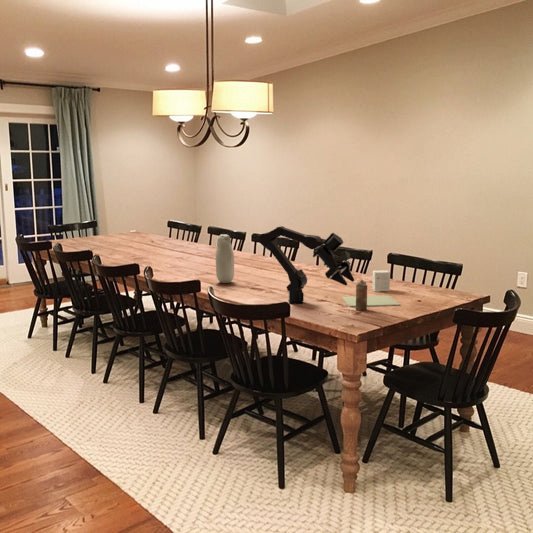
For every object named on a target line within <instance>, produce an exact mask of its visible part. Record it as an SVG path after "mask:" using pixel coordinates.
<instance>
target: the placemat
mask: <svg viewBox="0 0 533 533" xmlns="http://www.w3.org/2000/svg"><path fill="white" fill-rule="evenodd" d="M341 299H342V300H343V301H344V302H345V303H346V305H347V306H348V307H349V308H354V307H355V308H356V296H341ZM393 305H398V306H400V303H399V302H397V301H396V300H395V299H394V298H393V297H391V296H390V295H367V307H389V306H390V307H393Z"/></svg>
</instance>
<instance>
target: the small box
mask: <svg viewBox="0 0 533 533" xmlns="http://www.w3.org/2000/svg"><path fill="white" fill-rule="evenodd" d="M390 278H391V272H390V270H387V269H385V270H372V291H373V290H374V291H375V292H374V291H373V292H374V293H381V292H380V291H389V292H390V290H391V288H390V287H391V286H390V285H391V283H390V282H391V279H390Z"/></svg>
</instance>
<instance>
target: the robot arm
mask: <svg viewBox="0 0 533 533" xmlns="http://www.w3.org/2000/svg"><path fill="white" fill-rule="evenodd" d="M280 237H284V238H287V239H290V240H293V241H295V242H298V243H300V244H302V245H303V246H305V247H307V248H308V249H310V250H314V251H313V252H312V253H313V255H312V257H313V258H317V256H318V258H320V259H321V261H322V262H323V265H324V266H326V267H327V268H328V270H327V271H326V272H325V273H324V274H325V277H326V278H327V279H329V280H332V281H334V282H337V283H339V284H342V285H343V286H347V285H348V283H347V281H346V279H347V280H349V281H351V282H352V283H353V282H355V277H354V276H353V273H352V272H351V265H352V263H351V262H350V261H349V260H350V259H351V253H349V252H348V251H346V250H345V251H343V252H341V255H337V254H334V253H333V252H336V251H337V250H338V249H339V248H340V246H342V245H343V244H344V240H343V239H342V237H340V236H339V235H338V234H336V233H335V232H331V233H330V235H329V236H328V237H327V238H326V239H324V238H321V236H319V235H315V234H306V233H305V234H304V233H301V232H299V231H296V230H293V229H290V228H287V227H285V226H282V225H281V226H276V227H275V228H274V229H272V230H270V231H269V232H264V233H261V234H260V235H259V237H258V242H259V243H260V245H261V246H262V247H263V248H265V249H266V250H268V251H269V252H271V254H272V255H273V256H274V258H275V259H276V260H277V262H278V264H279V265H280V266H281V267H282V269H283V270H284V272H285V273H286V274H287V277H288V281H289V284H288V285H287V286H286V291H287V292H288V303H289V305H293V304H292V303H296V304H304V301H305V300H304V297H305V296H304V295H305V294H304V292H303V289H304V288H305V286H306V285H307V284H308V278H307V274H306V273H305V272H304V270H303V269H298V268H296V267H295V265H294V264H293V263H292V262H291V260H290V259H289V258H288V256H287V255H286V254H285V252H284V251H283V250H282V249H281V247H280V246H279V244H278V243H279V242H278V238H280ZM316 249H317V250H316Z"/></svg>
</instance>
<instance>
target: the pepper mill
mask: <svg viewBox="0 0 533 533" xmlns="http://www.w3.org/2000/svg"><path fill="white" fill-rule="evenodd" d="M367 296H368V285H367V282H366V281H364V280H363V279H360V281H357V282H356V286H355V297H356V307H355V311H357V312H366V311H367V310H368V306H367Z"/></svg>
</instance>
